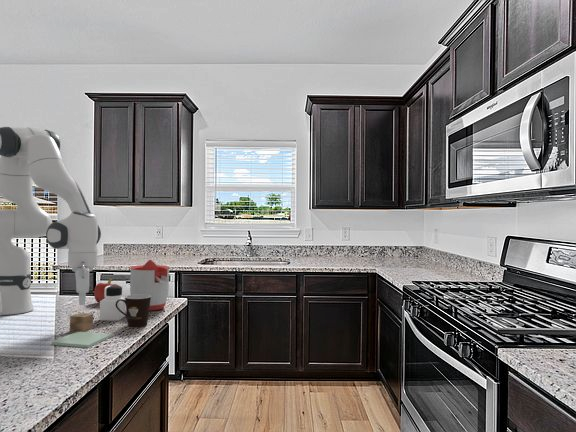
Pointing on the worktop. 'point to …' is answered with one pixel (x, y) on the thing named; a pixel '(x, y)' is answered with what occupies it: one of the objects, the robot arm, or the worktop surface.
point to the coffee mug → (136, 309)
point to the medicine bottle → (112, 304)
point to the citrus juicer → (151, 283)
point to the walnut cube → (81, 322)
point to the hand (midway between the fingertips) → (81, 302)
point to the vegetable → (101, 290)
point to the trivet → (81, 339)
